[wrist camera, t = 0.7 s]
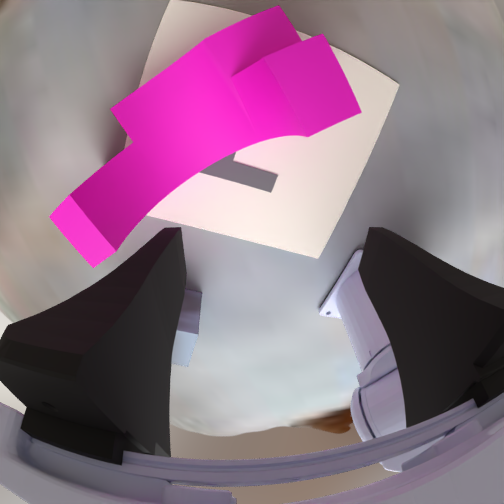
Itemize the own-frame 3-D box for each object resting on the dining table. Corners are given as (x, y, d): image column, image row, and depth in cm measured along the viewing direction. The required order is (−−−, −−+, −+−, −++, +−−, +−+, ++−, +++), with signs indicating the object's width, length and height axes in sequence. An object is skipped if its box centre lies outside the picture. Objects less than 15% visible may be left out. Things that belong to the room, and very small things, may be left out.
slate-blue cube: (202, 292, 25) (198, 334, 21) (191, 326, 27) (188, 366, 23) (148, 279, 24) (135, 320, 19) (144, 315, 26) (134, 355, 22)
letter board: (398, 84, 15) (400, 84, 15) (317, 257, 23) (318, 259, 23) (171, 0, 11) (170, -2, 11) (116, 206, 19) (115, 208, 19)
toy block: (267, 24, 13) (291, -14, 7) (312, 101, 16) (362, 112, 10) (84, 145, 16) (22, 181, 10) (131, 208, 19) (93, 267, 13)
